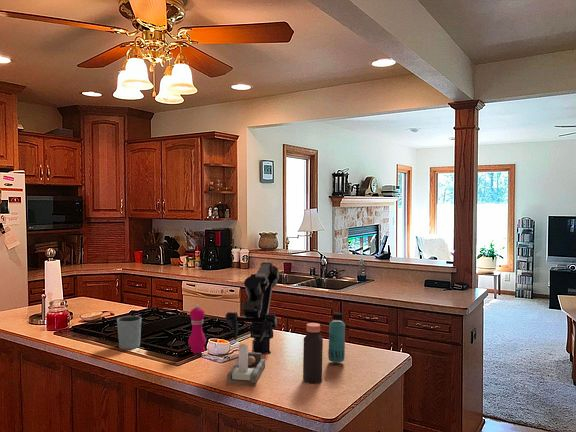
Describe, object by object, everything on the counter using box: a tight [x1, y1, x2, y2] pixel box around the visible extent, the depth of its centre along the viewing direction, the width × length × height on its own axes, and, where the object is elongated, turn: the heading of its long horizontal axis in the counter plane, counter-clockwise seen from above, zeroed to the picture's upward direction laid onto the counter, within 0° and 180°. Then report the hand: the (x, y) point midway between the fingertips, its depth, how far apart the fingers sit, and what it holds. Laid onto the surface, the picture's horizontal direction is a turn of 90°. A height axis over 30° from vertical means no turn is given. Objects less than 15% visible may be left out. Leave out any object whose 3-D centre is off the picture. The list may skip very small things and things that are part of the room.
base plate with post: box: [226, 351, 266, 387], centre depth 175 cm, size 18×10×6 cm, turn 172°
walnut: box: [248, 356, 255, 366], centre depth 181 cm, size 4×4×4 cm
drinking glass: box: [116, 315, 143, 350], centre depth 206 cm, size 10×10×12 cm
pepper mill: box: [187, 303, 207, 353], centre depth 200 cm, size 7×7×20 cm
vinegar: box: [302, 322, 324, 385], centre depth 171 cm, size 7×7×20 cm
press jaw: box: [232, 343, 254, 380], centre depth 169 cm, size 6×6×11 cm
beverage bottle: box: [327, 311, 346, 363], centre depth 189 cm, size 6×7×20 cm
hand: (247, 340), depth 175 cm, fingers open, 9 cm apart
